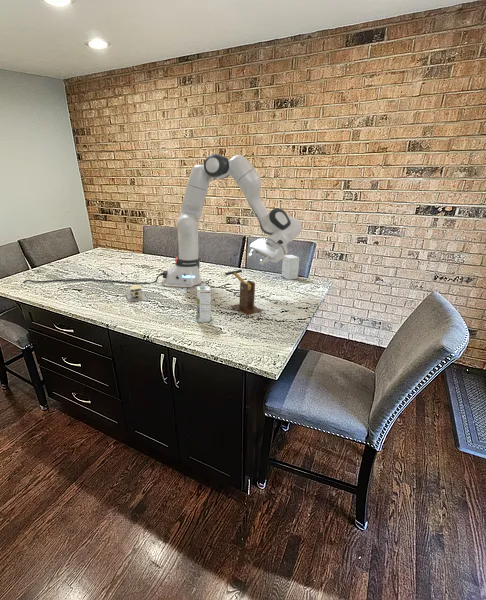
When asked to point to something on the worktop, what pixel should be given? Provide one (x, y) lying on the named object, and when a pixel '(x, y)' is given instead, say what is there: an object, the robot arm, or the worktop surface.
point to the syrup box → (203, 303)
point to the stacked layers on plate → (136, 293)
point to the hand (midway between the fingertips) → (254, 260)
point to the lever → (239, 277)
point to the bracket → (247, 299)
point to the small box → (290, 267)
